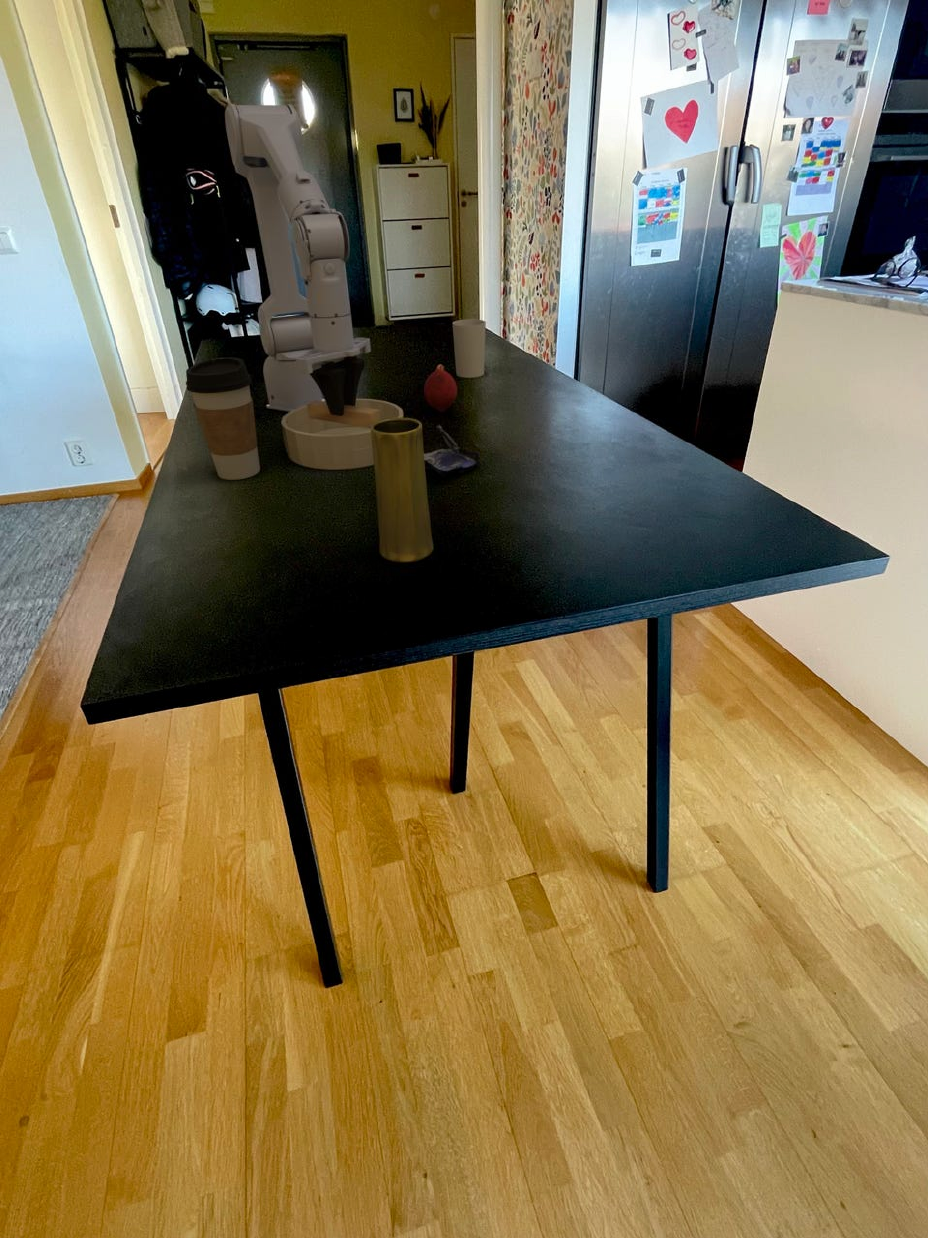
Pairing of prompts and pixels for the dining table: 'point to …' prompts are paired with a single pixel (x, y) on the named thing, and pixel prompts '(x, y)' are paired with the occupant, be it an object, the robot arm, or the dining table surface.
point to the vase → (401, 490)
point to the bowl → (332, 438)
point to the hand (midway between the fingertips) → (342, 412)
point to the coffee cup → (226, 415)
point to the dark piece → (450, 457)
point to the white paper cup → (469, 347)
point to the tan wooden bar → (350, 416)
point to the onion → (440, 389)
